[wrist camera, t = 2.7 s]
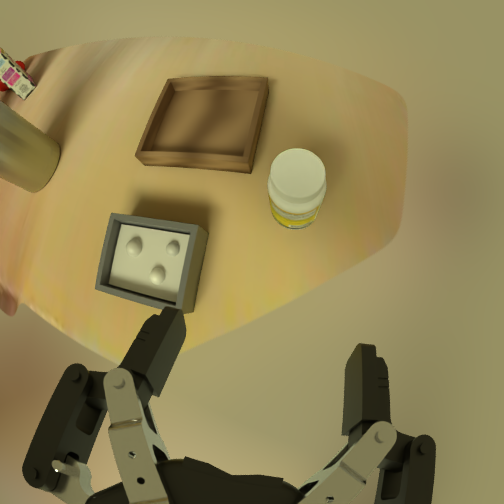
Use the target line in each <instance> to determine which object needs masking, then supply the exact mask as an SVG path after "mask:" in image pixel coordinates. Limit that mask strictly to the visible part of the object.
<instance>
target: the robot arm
mask: <svg viewBox="0 0 504 504" xmlns="http://www.w3.org/2000/svg"><path fill="white" fill-rule="evenodd" d="M59 156H60V147H59V145H58V143H57V142H55V141H54V140H52V139H51V138H50V137H48V136H47V135H46V134H44V133H43V132H42V131H40V130H39V129H38V128H36V127H35V126H34V125H32V124H31V123H30V122H28V121H27V120H26V119H24V118H23V117H22V116H20V115H19V114H18V113H16V112H15V111H14V110H12V109H11V108H10V107H8V106H7V105H6V104H4V103H3V102H1V101H0V178H2V179H4V180H6V181H8V182H11V183H13V184H15V185H17V186H19V187H21V188H23V189H25V190H27V191H29V192H33V193H34V192H37V191H39V190H41V189H42V188H43V187H44V186H45V185H46V183H47V182H48V181H49V179H50V178H51V176H52V175H53V173H54V171H55V169H56V166H57V163H58V160H59ZM185 337H186V325H185V320H184V315H183V311H182V310H181V309H177V308H173V307H170V306H165V307H164V309H163V310H162V312H161V314H160V316H159V315H156V314H154V315H152V316H151V317H150V318H149V319H147V320H146V321H145V323H144V324H143V326H142V328H141V329H140V332H139V333H138V335H137V336H136V339H135V340H134V341H133V343H132V345H131V347H130V348H129V350H128V352H127V354H126V356H125V357H124V359H123V361H122V363H121V364H120V365H119V367H117V368H115V369H113V370H110V371H109V372H97V371H88V370H87V369H86V367H85V366H83V365H82V364H72V365H70V366H69V367H68V368H67V369H66V370H65V372H64V374H63V376H62V378H61V379H60V381H59V383H58V385H57V387H56V389H55V391H54V393H53V395H52V397H51V399H50V401H49V403H48V405H47V408H46V410H45V412H44V414H43V416H42V419H41V421H40V423H39V425H38V428H37V430H36V432H35V435H34V437H33V440H32V442H31V444H30V447H29V450H28V453H27V455H26V458H25V460H24V463H23V467H22V472H23V476H24V478H25V480H26V481H27V482H28V484H29V485H31V486H32V487H35V488H38V489H41V490H44V491H46V492H50V493H52V494H53V495H55V496H56V497H58V498H59V499H61V500H62V501H64V502H65V503H67V504H349V503H350V502H351V501H352V500H353V499H354V498H355V497H356V496H357V495H358V494H359V493H360V492H361V490H362V489H363V488H364V487H365V485H366V480H367V478H368V477H369V476H370V475H371V473H372V472H373V471H374V470H375V469H376V467H377V468H380V473H379V480H378V487H377V492H376V497H375V503H374V504H431V501H432V493H433V484H434V474H435V457H436V456H435V455H436V445H435V442H434V440H433V439H432V438H431V437H430V436H428V435H420V436H418V437H416V438H415V437H412V436H409V435H405V434H402V433H400V432H398V431H397V430H396V429H395V428H394V426H393V425H392V423H391V419H390V395H389V380H388V368H387V365H386V363H385V361H384V359H383V358H381V357H377V356H376V347H375V345H369V344H361V343H359V344H358V345H357V346H356V348H355V349H354V351H353V353H352V354H351V356H350V358H349V359H348V361H347V364H346V368H345V387H344V389H345V390H344V408H343V423H342V435H346V436H349V439H348V443H346V445H345V446H344V447H343V448H342V449H341V450H340V451H339V452H338V453H337V454H336V455H335V456H334V457H333V458H332V459H331V460H330V461H329V462H328V463H327V464H326V465H325V466H324V467H323V468H322V469H321V470H320V471H318V472H317V473H315V474H314V475H313V476H312V477H311V478H309V479H308V480H307V481H306V482H305V483H303V484H302V485H301V486H300V487H299V488H298V489H297V488H296V487H294V486H293V485H291V484H289V483H287V482H285V481H283V478H279V477H271V476H264V475H230V474H228V473H226V472H224V471H222V470H220V469H218V468H216V467H214V466H212V465H211V464H209V463H205V462H202V461H198V460H195V459H192V458H189V457H186V456H185V458H184V459H170V457H169V454H168V452H167V449H166V447H165V445H164V442H163V440H162V439H161V437H160V434H159V432H158V429H157V426H156V423H155V420H154V416H153V413H152V410H151V406H150V403H149V400H150V398H151V396H152V395H154V396H157V397H159V396H160V394H161V391H162V389H163V387H164V385H165V382H166V380H167V378H168V376H169V373H170V371H171V369H172V367H173V364H174V362H175V360H176V358H177V356H178V354H179V351H180V349H181V347H182V345H183V343H184V340H185ZM107 411H108V412H109V417H110V421H111V426H110V427H109V429H108V433H109V438H110V441H111V445H112V449H113V453H114V456H115V460H116V463H117V467H118V470H119V473H120V476H121V479H122V482H120V483H118V484H115V485H113V486H111V487H109V488H107V489H104V490H102V491H99V492H97V493H94V491H93V490H92V487H91V472H90V470H89V468H88V466H86V464H87V462H88V459H89V456H90V453H91V451H92V448H93V445H94V442H95V440H96V437H97V435H98V432H99V430H100V427H101V425H102V422H103V420H104V418H105V415H106V413H107ZM134 457H135V458H134ZM327 501H328V502H327Z"/></svg>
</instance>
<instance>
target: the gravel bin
mask: <svg viewBox="0 0 504 504" xmlns="http://www.w3.org/2000/svg"><path fill="white" fill-rule="evenodd" d="M208 235H209V233H207V232H206V231H205V230H204V229H203V228H201V227H200V226H199V225H195V224H188V223H181V222H174V221H167V220H160V219H153V218H146V217H139V216H131V215H124V214H117V213H111V216H110V220H109V223H108V227H107V231H106V235H105V240H104V244H103V248H102V253H101V258H100V263H99V268H98V273H97V279H96V284H95V289H96V290H99V291H102V292H105V293H108V294H111V295H115V296H118V297H121V298H124V299H127V300H131V301H134V302H137V303H141V304H144V305H148V306H151V307H155V308H158V309H162V310H163V309H164V307H165V306H170V307H173V308H177V309H181V310H182V311H183V314H186V313H192V312H193V311H194V305H195V300H196V295H197V289H198V284H199V279H200V274H201V269H202V264H203V259H204V254H205V249H206V245H207V240H208Z"/></svg>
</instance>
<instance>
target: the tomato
mask: <svg viewBox="0 0 504 504" xmlns="http://www.w3.org/2000/svg"><path fill="white" fill-rule="evenodd" d="M15 62H16V63H17V64H18V65H19V66H20V67H21V68H22V69H23V70H25V65H24V64H23V62H21V61H15ZM8 89H9V87H8V86H6V85H5V84H4V83H3V82H2V81H1V80H0V91H2V92H3V91H6V90H8Z"/></svg>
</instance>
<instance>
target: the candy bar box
mask: <svg viewBox="0 0 504 504" xmlns="http://www.w3.org/2000/svg"><path fill="white" fill-rule="evenodd" d="M0 80H1V81H2V82H3V83H4V84H5V85H6V86H8V87H9V88H10V89H11V90H12V91H13V92H15V93H16V94H17V95H18V96H19V97H21V98H22V99H23V100H25V99H26V98H27V97H28V95H29V94H30V93H31V92H32V91H33V90H34V88H35V87H36V85H35V83H34V82H33V80H32V78H31V76H30V75H29V74H28V73H26V72H25V71H24V70H23V69H22V68H21V67H20V66H19V65H18V64H17V63H16V62H15V61H14V60H13V59H12V58H11V57H10V56H9V55H8V54H7V53H6V52H5V51H4V50H3V49H2V48H0Z"/></svg>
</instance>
